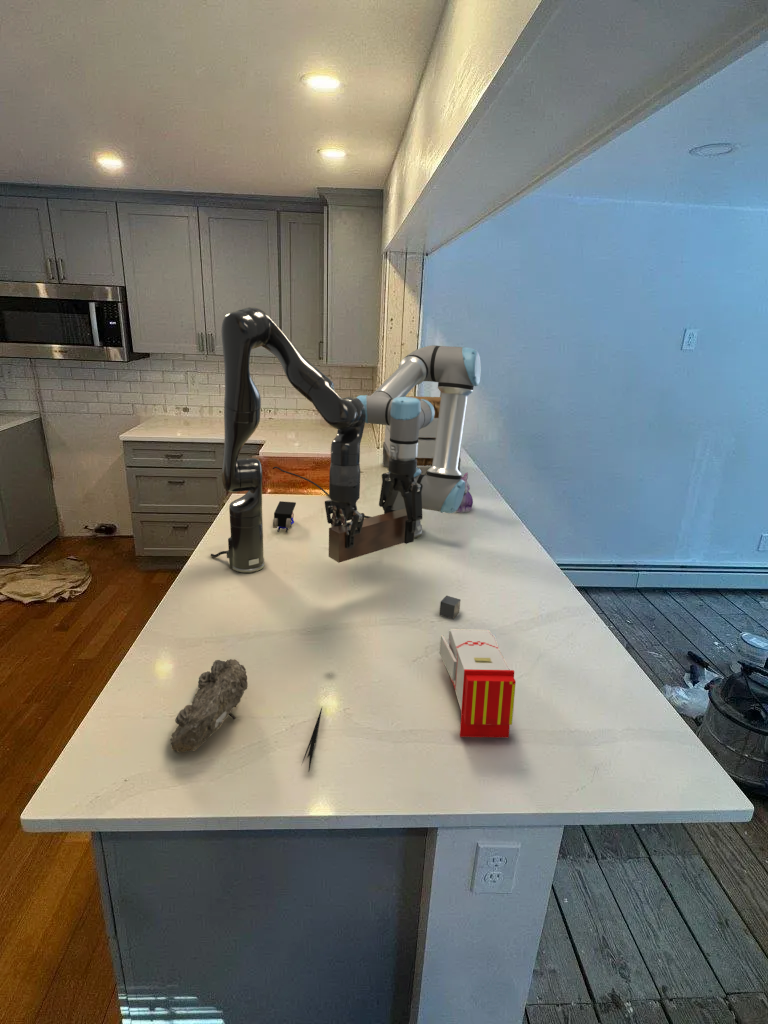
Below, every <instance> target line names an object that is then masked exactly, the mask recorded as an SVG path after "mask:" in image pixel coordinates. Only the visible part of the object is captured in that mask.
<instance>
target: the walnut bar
mask: <svg viewBox="0 0 768 1024" xmlns="http://www.w3.org/2000/svg"><path fill="white" fill-rule="evenodd" d="M412 516H413V515H412ZM406 520H408V517H407V512H406V509H405V508H404V509H401V510H397V511H393V512H389V513H385V514H384V513H381V514H378V515H373V516H370V518H364V521H363V525H362V529H361V533H360V534H356V535H354V546H353V548H350V549H347V548H345V535H346V532H345V527H344V526H343V524H342V525H338V526H335V527H332V526H331V527H328V558H330V559H331V560H333V561H335V562H336V563H338V564H340V563H343V562H347V561H350V560H353V559H356V558H359V557H362V556H366V555H369V554H372V553H375V552H379V551H381V550H386V549H388V548H391V547H395V546H398V545H401V544H405V543H404V540H405V523H406ZM356 529H357V528H356ZM349 530H351V525H350V526H349Z"/></svg>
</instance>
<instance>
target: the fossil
mask: <svg viewBox="0 0 768 1024" xmlns="http://www.w3.org/2000/svg"><path fill="white" fill-rule="evenodd" d="M197 683H198V684H197V687H198V690H197V691H196V693H195V694H194V697H193V698H192V701H191V704H187V705H185V706H184V707H183V708H182V709H181V710H179V712H178V713H177V715H176V717H175V719H174V721H175V723H176V725H177V726H176V728H175V730H174V731H173V732H172V733H171V735H170V736H171V738H170V747H171V750H172V751H176V752H178V753H186V752H190V751H193V752H195V751H197V750H198V749H199V748H200V747H201V746H202V745H203V744H204V743H205V742H207V741H208V740H209V739H210V737H211V736H212V735H213V734H215V733H216V731H218V730H219V729H220V728H221V726H222V725H223V723H224V721H225V720H226V719H227V718H228V717H230V718H232V720H235V719H236V716H235V715H234V714H233V713H232V710H233V709H235V708H237V706H238V705H239V704H240V702H241V700H242V698H243V696H244V693H245V691H246V690H247V689H248V686H249V685H248V675H247V669H246V668H245V666H244V665H243V664H241V663H240V661H238V660H237V659H236V658H234V659H232V658H230V659H226V660H221V659H216V660H214V661H213V662H212V665H211V667H210V671H208V670H207V671H205V672H201V674H200V675H199V676H198V681H197Z"/></svg>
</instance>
